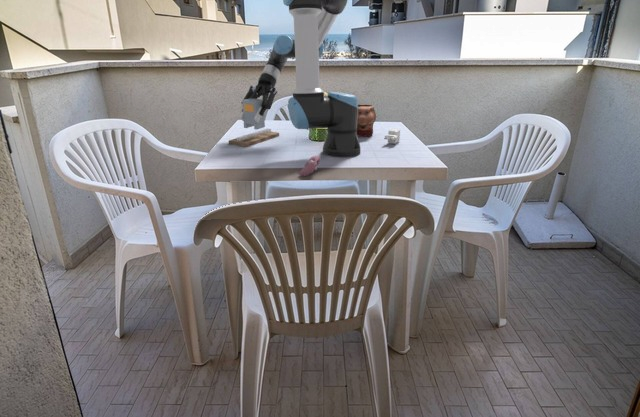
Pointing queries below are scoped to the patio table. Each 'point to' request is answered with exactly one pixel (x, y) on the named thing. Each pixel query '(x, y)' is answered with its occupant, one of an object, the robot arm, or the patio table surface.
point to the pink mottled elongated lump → (310, 166)
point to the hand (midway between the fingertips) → (248, 119)
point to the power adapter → (393, 136)
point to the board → (254, 140)
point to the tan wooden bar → (253, 135)
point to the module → (252, 113)
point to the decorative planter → (365, 120)
